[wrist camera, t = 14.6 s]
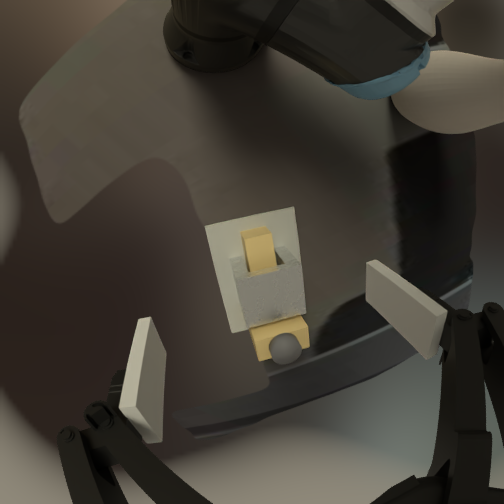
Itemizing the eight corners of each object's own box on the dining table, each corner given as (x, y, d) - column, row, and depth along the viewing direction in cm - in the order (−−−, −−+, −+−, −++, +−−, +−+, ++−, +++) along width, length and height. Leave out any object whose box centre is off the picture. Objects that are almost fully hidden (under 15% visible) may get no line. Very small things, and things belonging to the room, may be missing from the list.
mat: (204, 225, 43) (204, 226, 43) (293, 206, 45) (294, 207, 44) (231, 332, 51) (231, 333, 50) (305, 312, 52) (306, 313, 52)
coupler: (227, 234, 44) (238, 264, 33) (277, 223, 45) (305, 248, 34) (247, 325, 50) (262, 371, 39) (290, 314, 51) (314, 355, 40)
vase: (427, 138, 45) (561, 159, 17) (373, 124, 42) (530, 130, 15) (427, 74, 40) (553, 65, 13) (373, 53, 38) (512, 14, 10)
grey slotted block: (229, 258, 45) (236, 280, 38) (284, 245, 46) (301, 264, 39) (239, 301, 48) (247, 328, 41) (290, 288, 49) (306, 312, 42)
